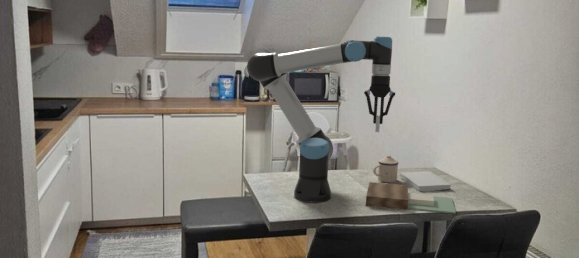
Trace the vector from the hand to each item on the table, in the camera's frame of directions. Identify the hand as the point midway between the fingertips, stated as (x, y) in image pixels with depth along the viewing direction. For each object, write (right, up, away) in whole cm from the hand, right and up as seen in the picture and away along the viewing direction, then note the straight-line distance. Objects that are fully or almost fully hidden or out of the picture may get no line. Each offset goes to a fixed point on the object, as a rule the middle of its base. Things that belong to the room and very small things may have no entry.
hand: (377, 131), depth 219 cm
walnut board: (+3, -28, -5) cm, 29 cm away
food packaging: (+24, -25, +20) cm, 40 cm away
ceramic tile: (+16, -28, -8) cm, 33 cm away
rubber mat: (+20, -29, -8) cm, 36 cm away
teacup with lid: (+7, -23, +23) cm, 34 cm away
